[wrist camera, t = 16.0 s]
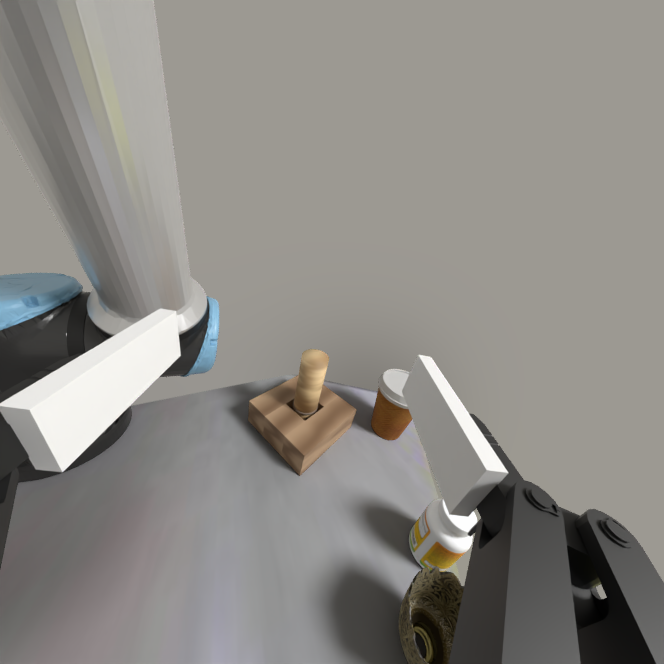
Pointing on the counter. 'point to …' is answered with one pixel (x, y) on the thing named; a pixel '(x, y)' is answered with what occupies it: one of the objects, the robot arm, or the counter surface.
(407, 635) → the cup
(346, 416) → the seat block
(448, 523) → the supplement bottle
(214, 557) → the counter surface
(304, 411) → the leg
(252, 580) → the counter surface
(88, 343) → the robot arm
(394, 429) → the disposable coffee cup
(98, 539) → the counter surface
